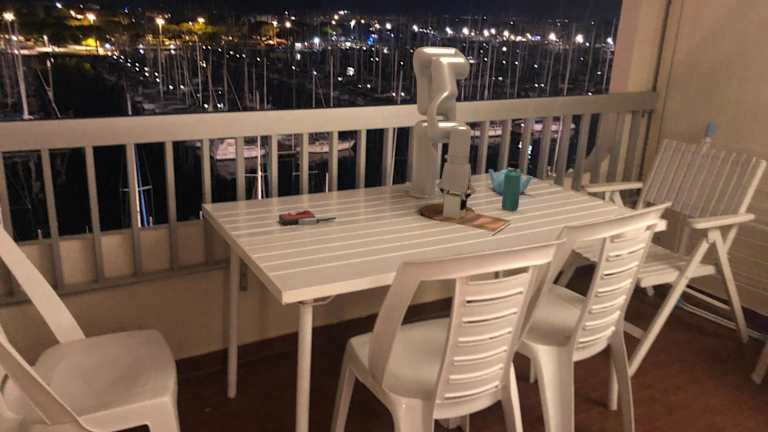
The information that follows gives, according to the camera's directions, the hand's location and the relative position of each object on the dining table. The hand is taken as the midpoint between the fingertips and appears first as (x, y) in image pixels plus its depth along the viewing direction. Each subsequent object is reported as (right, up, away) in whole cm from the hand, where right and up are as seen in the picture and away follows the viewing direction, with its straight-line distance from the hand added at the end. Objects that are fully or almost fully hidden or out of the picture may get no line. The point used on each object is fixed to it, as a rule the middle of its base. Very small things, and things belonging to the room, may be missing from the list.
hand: (454, 207), depth 222 cm
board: (+6, -6, -2) cm, 8 cm away
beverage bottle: (+23, -2, +13) cm, 26 cm away
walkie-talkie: (-54, -6, -7) cm, 54 cm away
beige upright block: (0, -3, +1) cm, 3 cm away
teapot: (+29, +7, +43) cm, 52 cm away
